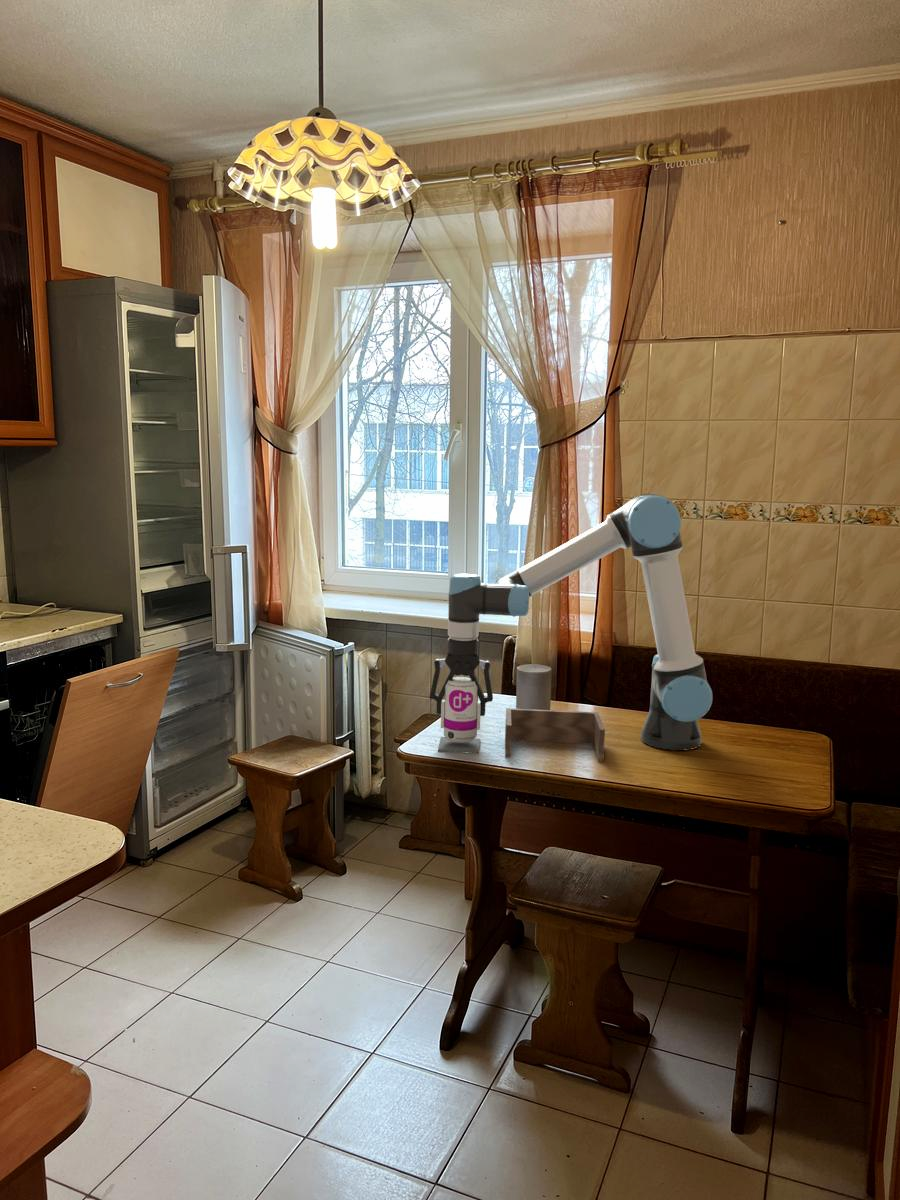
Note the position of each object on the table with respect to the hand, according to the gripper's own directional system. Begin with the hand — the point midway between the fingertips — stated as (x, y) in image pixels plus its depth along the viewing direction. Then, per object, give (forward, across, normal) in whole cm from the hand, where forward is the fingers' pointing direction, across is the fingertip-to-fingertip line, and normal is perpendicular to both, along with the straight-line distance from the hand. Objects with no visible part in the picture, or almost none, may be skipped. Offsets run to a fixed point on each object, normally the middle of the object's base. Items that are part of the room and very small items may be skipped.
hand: (460, 727), depth 222 cm
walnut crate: (+5, -23, 0) cm, 23 cm away
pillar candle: (+5, -19, -30) cm, 36 cm away
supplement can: (+3, 0, 0) cm, 3 cm away
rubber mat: (+5, 0, 0) cm, 5 cm away
